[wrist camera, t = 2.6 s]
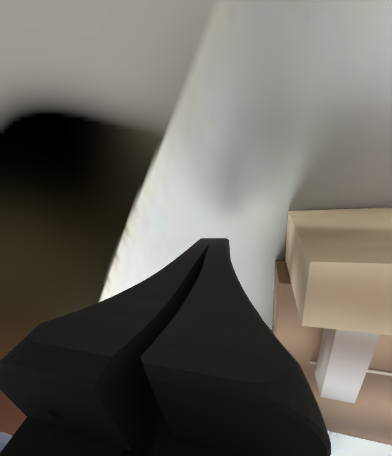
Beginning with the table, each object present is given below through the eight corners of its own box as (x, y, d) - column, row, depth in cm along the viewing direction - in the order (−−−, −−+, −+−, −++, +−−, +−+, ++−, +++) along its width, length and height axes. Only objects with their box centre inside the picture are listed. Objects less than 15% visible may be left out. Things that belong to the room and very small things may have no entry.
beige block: (362, 348, 13) (408, 440, 9) (280, 338, 14) (290, 414, 11) (410, 206, 9) (529, 267, 5) (288, 211, 10) (310, 261, 6)
